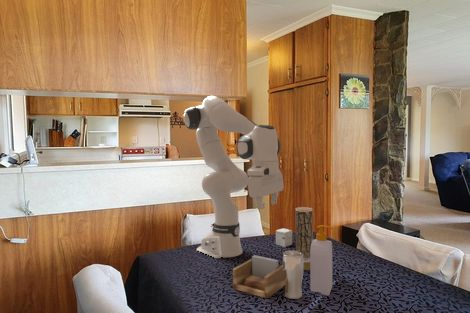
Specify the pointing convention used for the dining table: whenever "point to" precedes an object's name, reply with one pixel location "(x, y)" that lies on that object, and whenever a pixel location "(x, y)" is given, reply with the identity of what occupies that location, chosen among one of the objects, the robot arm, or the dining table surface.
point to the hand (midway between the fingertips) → (267, 206)
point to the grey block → (263, 266)
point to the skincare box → (284, 237)
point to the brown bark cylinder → (304, 233)
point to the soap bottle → (321, 263)
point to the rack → (271, 280)
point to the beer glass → (293, 273)
